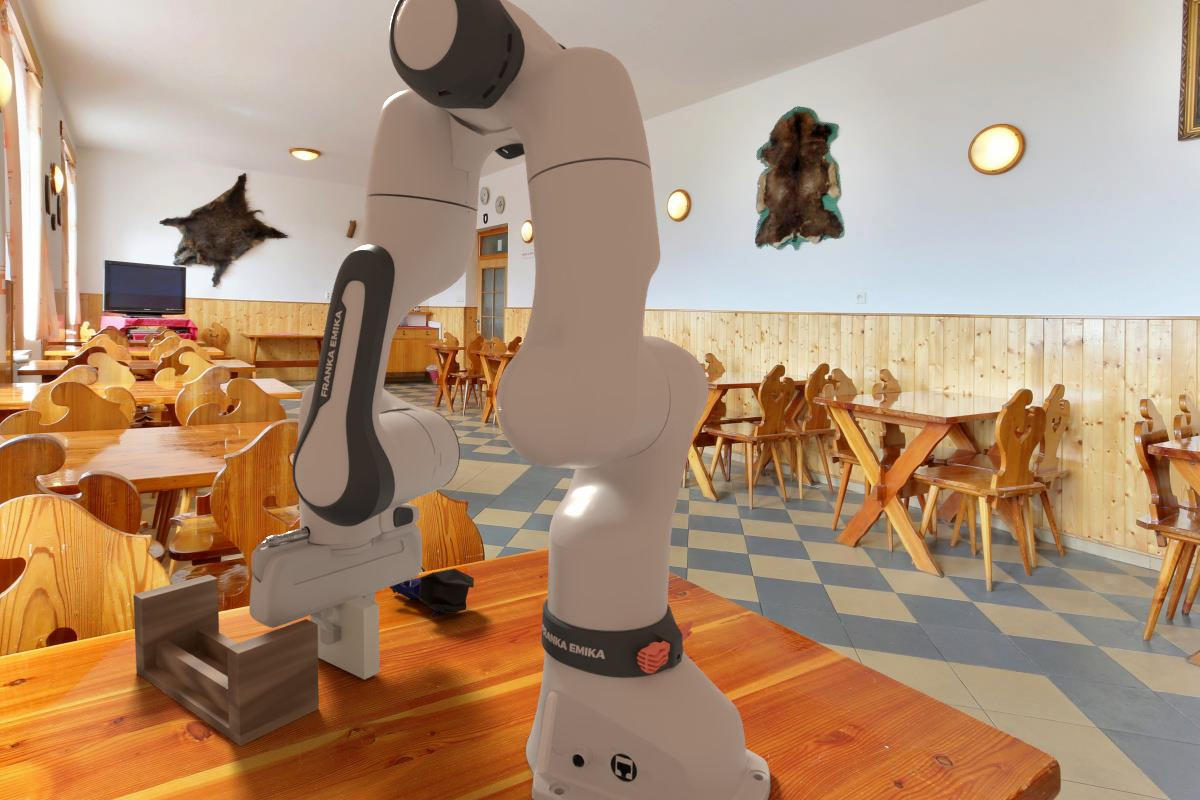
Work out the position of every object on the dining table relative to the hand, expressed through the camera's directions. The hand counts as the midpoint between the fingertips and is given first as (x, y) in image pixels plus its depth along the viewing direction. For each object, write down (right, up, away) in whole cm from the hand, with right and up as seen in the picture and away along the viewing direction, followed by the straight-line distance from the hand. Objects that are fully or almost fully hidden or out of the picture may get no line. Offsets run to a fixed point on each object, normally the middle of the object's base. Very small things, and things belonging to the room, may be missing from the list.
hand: (344, 636), depth 79 cm
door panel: (0, -3, 0) cm, 3 cm away
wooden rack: (-11, -4, -5) cm, 13 cm away
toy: (+5, -2, +18) cm, 19 cm away
